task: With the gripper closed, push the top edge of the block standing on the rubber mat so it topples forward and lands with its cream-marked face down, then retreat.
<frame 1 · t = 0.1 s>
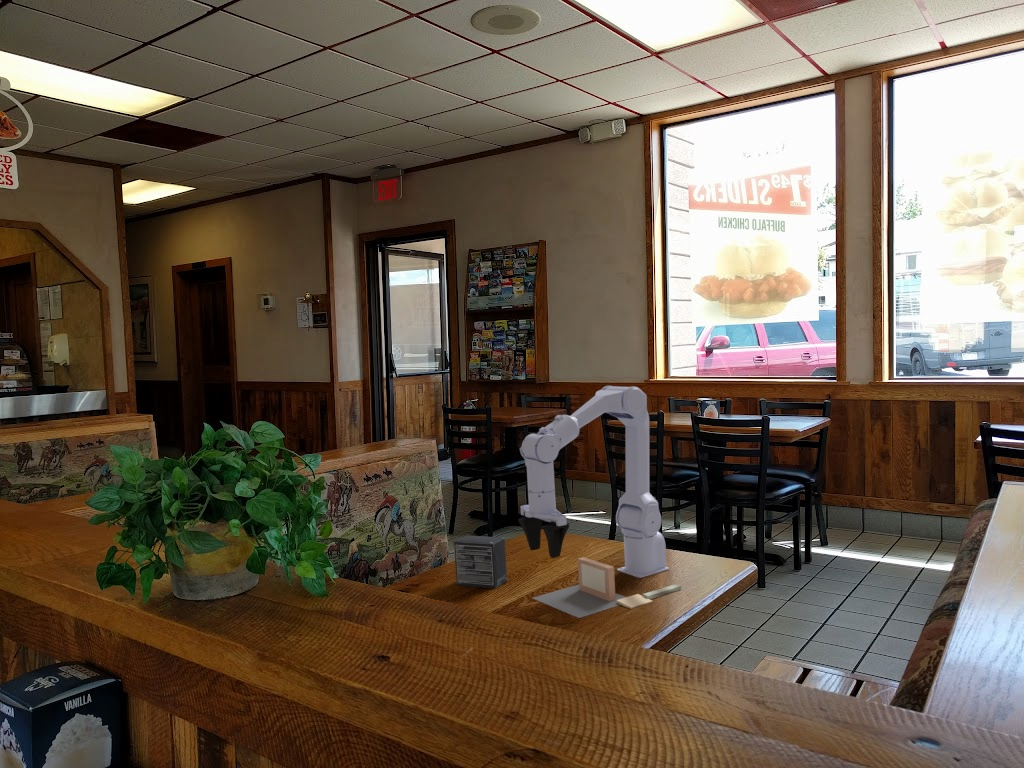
hand: (544, 553, 167), 10 cm above the table, tool pointing down, fingers open, 7 cm apart
turner: (652, 597, 165), on the table, tilted 5°, touching mat
block: (597, 594, 168), resting on mat
small box: (482, 584, 181), on the table
mat: (582, 600, 166), on the table
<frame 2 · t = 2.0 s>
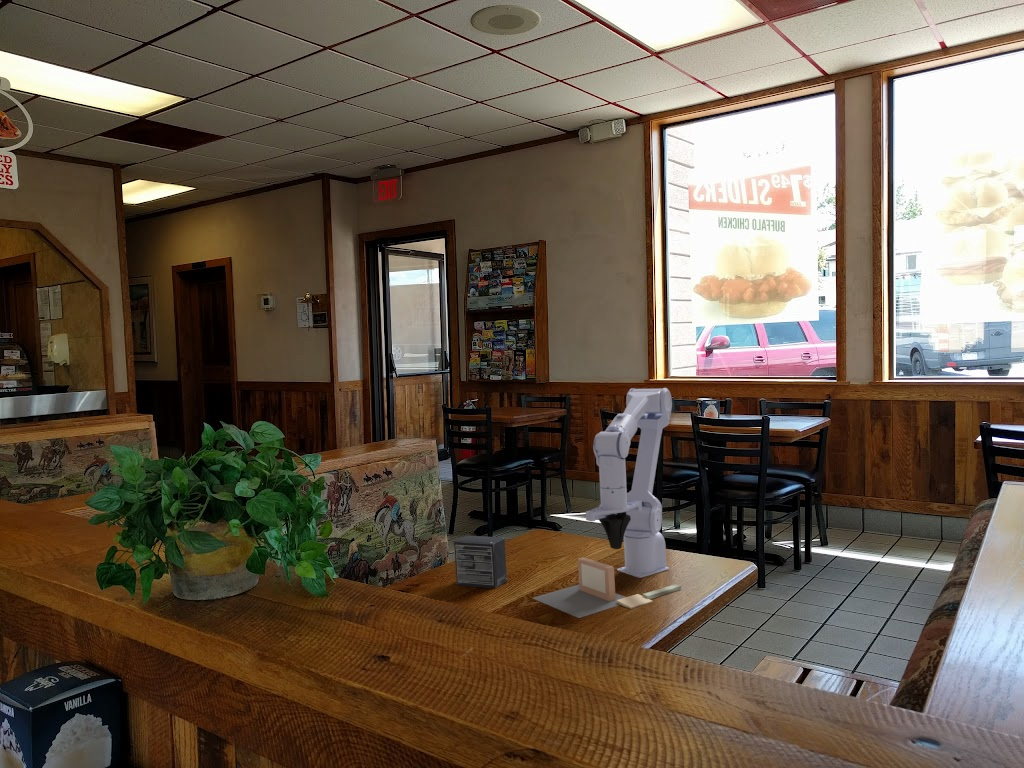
hand: (615, 548, 171), 9 cm above the table, tool pointing down, fingers closed
nothing on the table moved.
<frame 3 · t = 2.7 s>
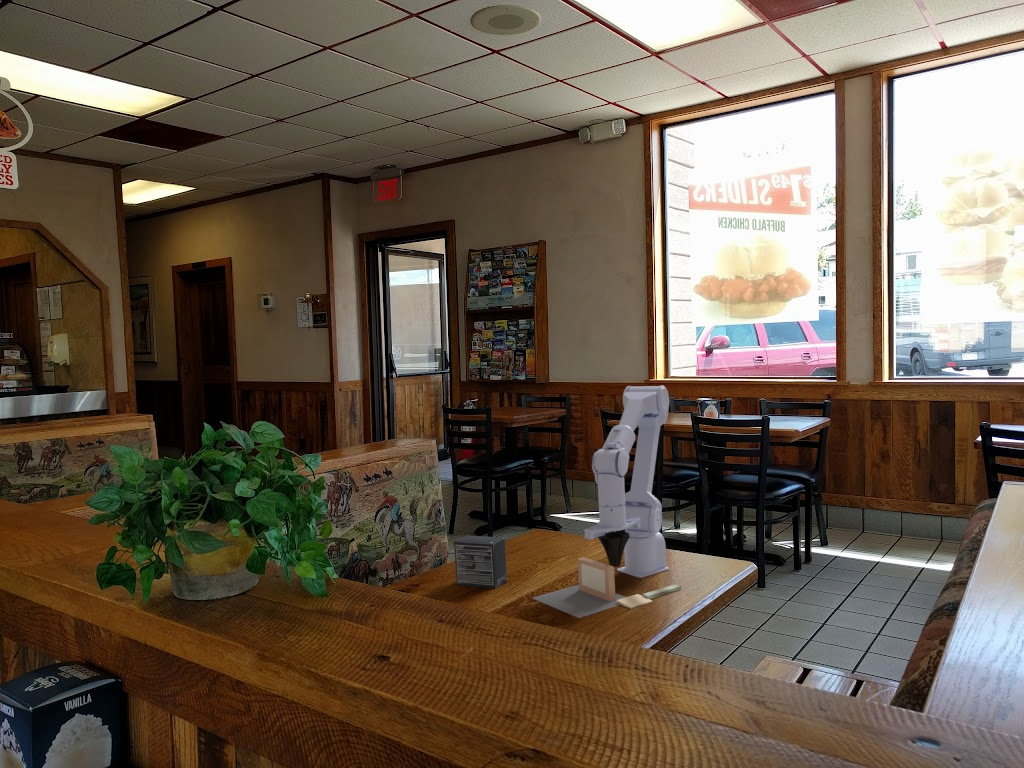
hand: (614, 565, 171), 6 cm above the table, tool pointing down, fingers closed
nothing on the table moved.
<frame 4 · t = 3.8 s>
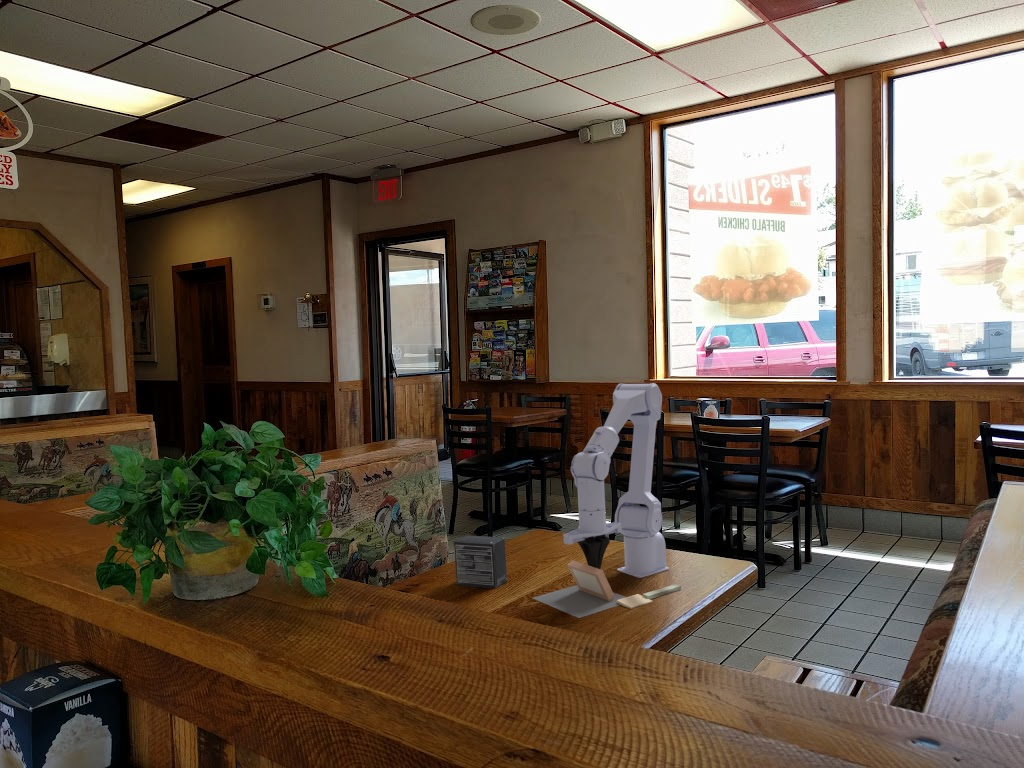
hand: (594, 571, 167), 6 cm above the table, tool pointing down, fingers closed
block: (596, 593, 168), point 1 cm above the table, tilted 25°, touching mat
everything else where it was.
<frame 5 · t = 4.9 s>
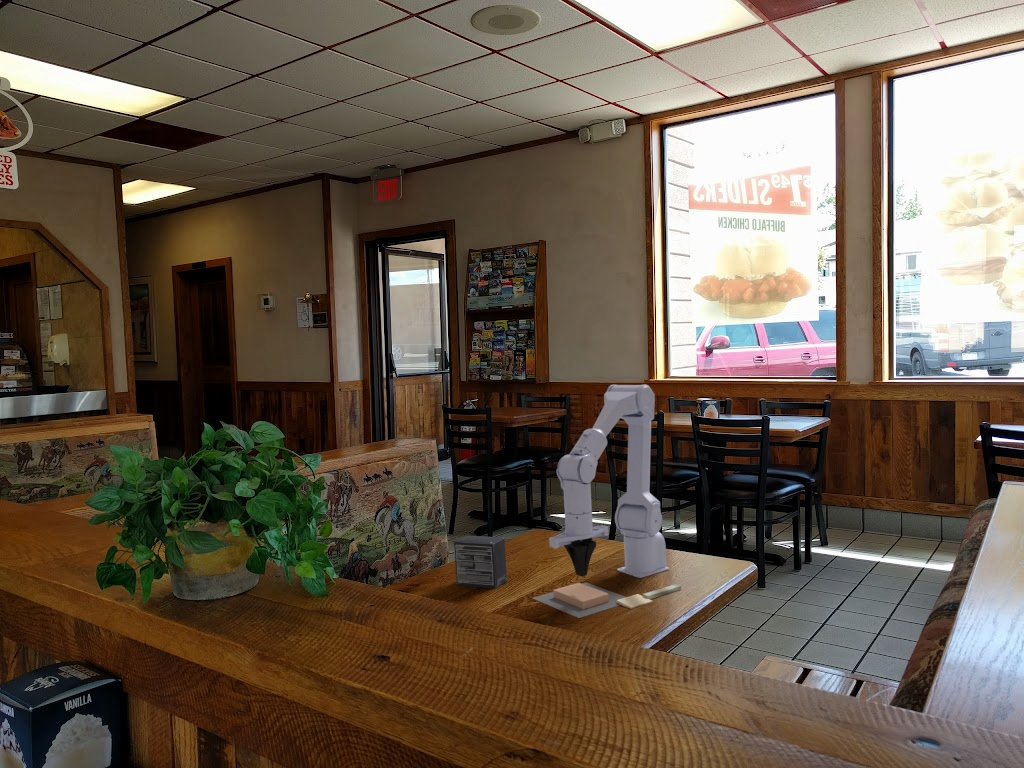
hand: (581, 574, 165), 6 cm above the table, tool pointing down, fingers closed
block: (593, 591, 167), point 1 cm above the table, tilted 90°, touching mat
everything else where it was.
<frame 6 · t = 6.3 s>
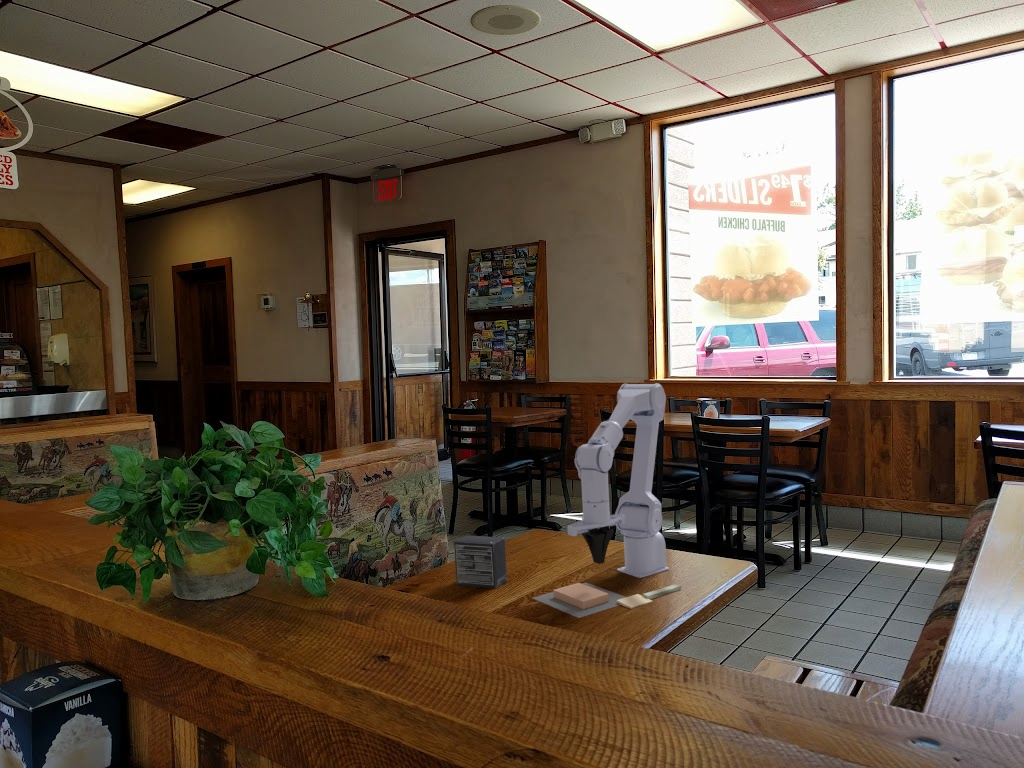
hand: (598, 562, 168), 7 cm above the table, tool pointing down, fingers closed
nothing on the table moved.
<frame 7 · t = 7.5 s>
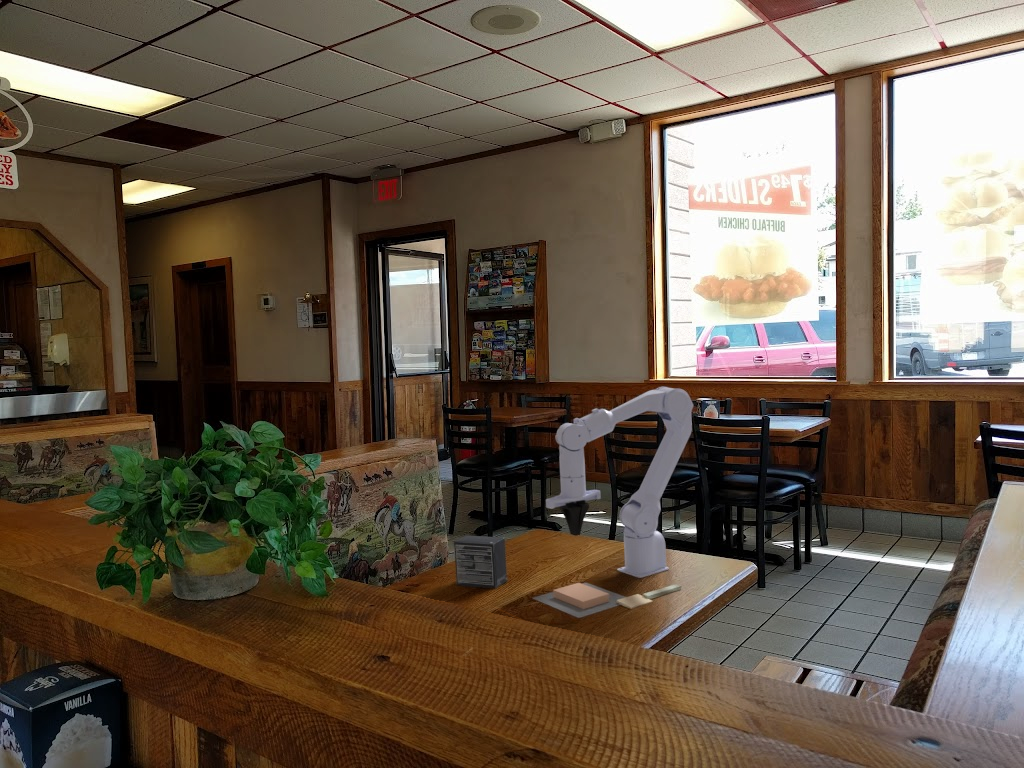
hand: (575, 534, 180), 10 cm above the table, tool pointing down, fingers closed
nothing on the table moved.
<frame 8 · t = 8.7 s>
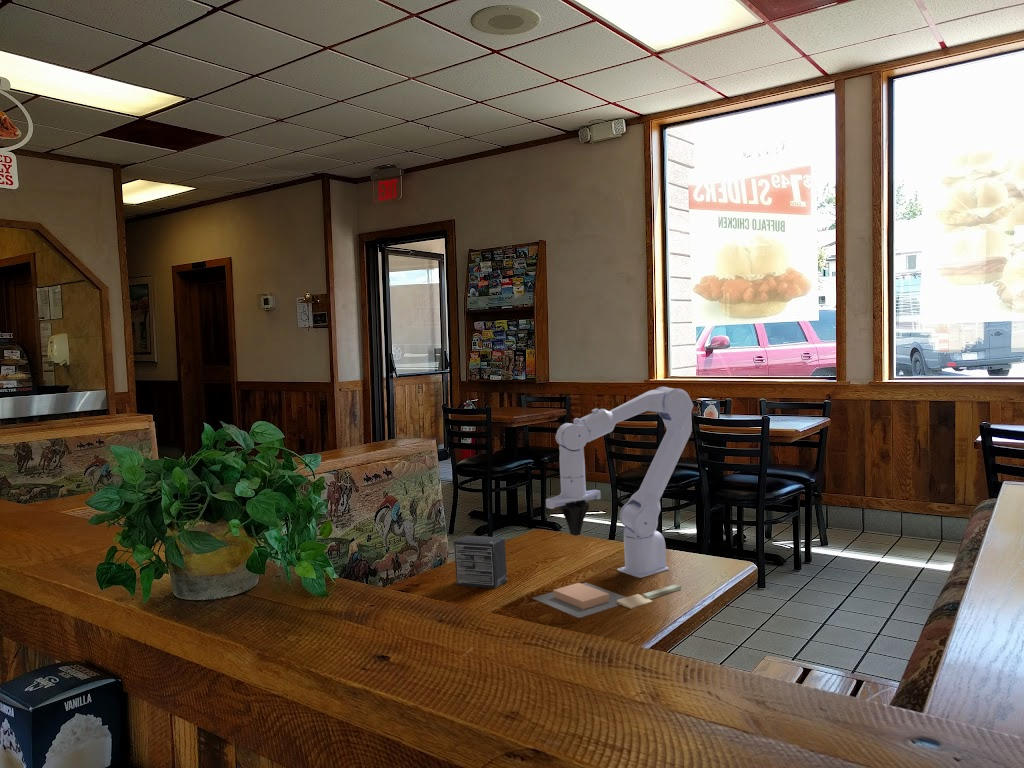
hand: (575, 534, 180), 10 cm above the table, tool pointing down, fingers closed
nothing on the table moved.
at the end: block tilted 90°; block inside the target area (5.1 cm from its centre), point 1.1 cm above the table; the gripper is holding nothing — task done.
